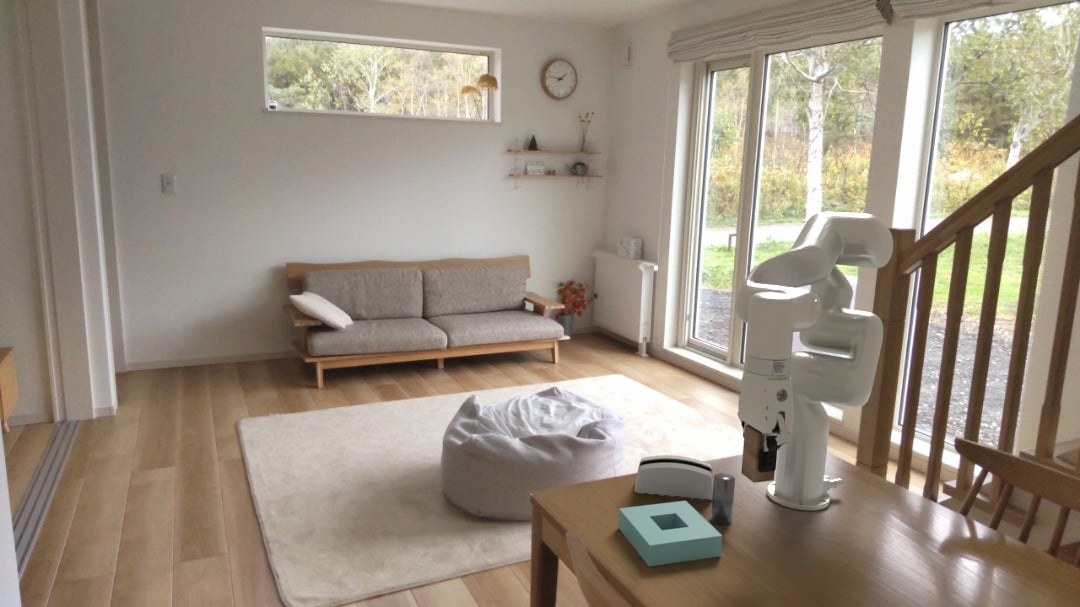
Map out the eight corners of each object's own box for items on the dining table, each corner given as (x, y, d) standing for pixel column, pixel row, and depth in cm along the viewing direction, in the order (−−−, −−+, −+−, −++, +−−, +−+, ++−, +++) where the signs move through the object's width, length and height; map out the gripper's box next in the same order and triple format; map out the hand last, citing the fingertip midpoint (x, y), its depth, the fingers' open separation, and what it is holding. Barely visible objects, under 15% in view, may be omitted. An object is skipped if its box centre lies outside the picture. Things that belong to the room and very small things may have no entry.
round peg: (725, 514, 145) (728, 472, 143) (735, 523, 141) (739, 480, 139) (707, 516, 144) (710, 474, 142) (717, 526, 140) (720, 482, 138)
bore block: (684, 519, 142) (685, 500, 142) (720, 556, 129) (722, 535, 128) (618, 527, 139) (619, 508, 138) (648, 566, 125) (649, 545, 125)
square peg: (761, 471, 130) (765, 423, 128) (774, 480, 126) (778, 431, 124) (741, 473, 128) (745, 425, 127) (753, 482, 125) (757, 433, 123)
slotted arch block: (713, 490, 156) (717, 454, 151) (713, 506, 152) (717, 470, 147) (635, 482, 159) (636, 447, 154) (633, 498, 155) (634, 463, 150)
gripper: (817, 377, 117) (807, 483, 120) (758, 351, 132) (751, 446, 136) (777, 380, 114) (767, 488, 118) (722, 353, 130) (715, 449, 134)
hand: (758, 464), depth 127 cm, fingers closed on square peg, 4 cm apart
